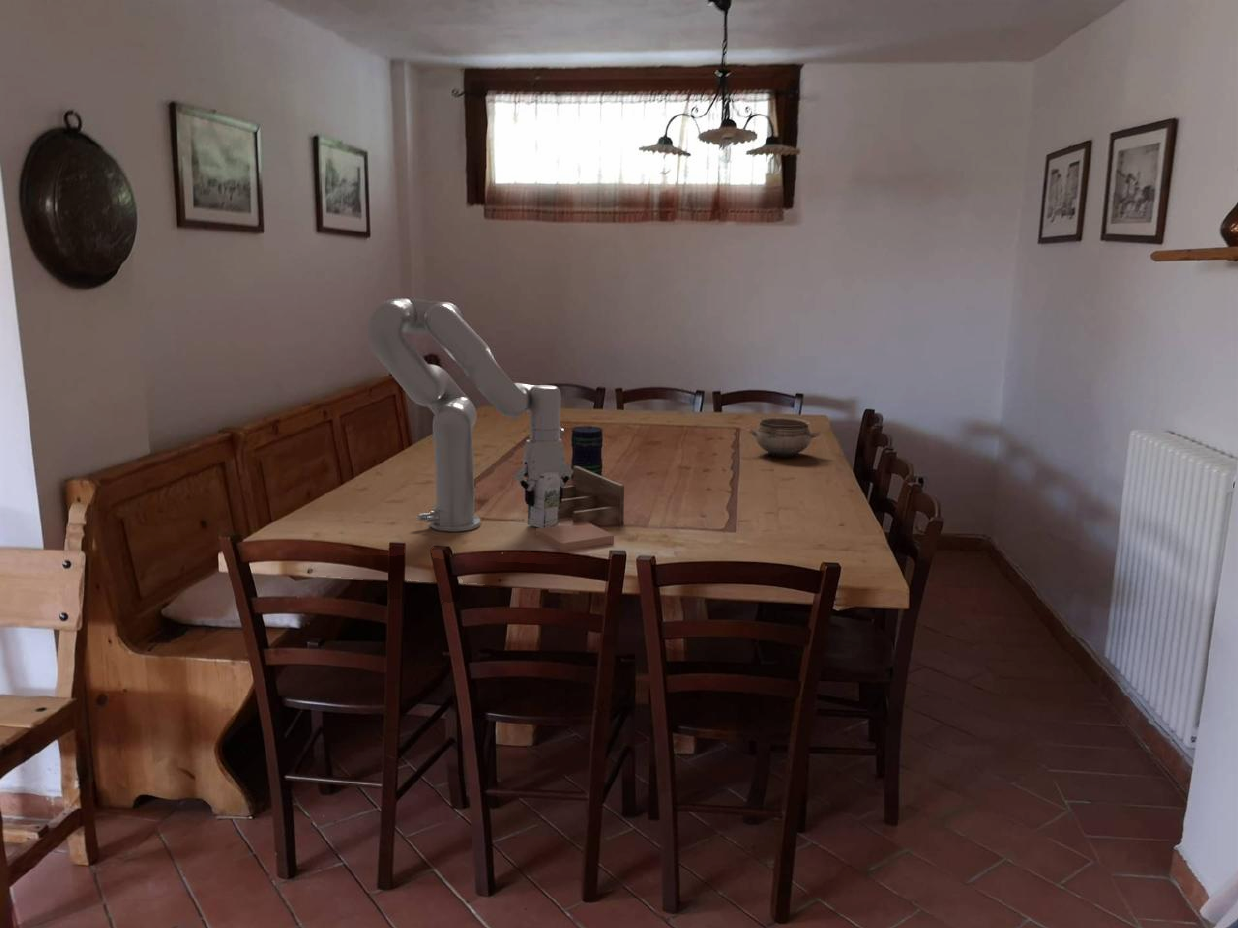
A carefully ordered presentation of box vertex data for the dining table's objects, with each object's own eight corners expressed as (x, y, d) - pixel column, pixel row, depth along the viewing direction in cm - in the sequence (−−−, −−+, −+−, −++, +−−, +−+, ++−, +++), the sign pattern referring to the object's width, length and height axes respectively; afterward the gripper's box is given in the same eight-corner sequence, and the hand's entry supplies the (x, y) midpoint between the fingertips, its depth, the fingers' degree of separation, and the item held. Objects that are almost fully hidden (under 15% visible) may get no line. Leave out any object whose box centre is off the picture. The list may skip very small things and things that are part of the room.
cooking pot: (815, 451, 339) (817, 418, 336) (821, 462, 320) (823, 427, 318) (745, 449, 341) (747, 415, 338) (747, 459, 323) (748, 424, 320)
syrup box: (543, 520, 244) (544, 466, 241) (559, 525, 240) (560, 470, 237) (527, 524, 240) (528, 469, 237) (544, 529, 236) (544, 473, 233)
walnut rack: (575, 529, 237) (575, 491, 235) (531, 506, 259) (531, 470, 256) (623, 522, 244) (624, 485, 242) (577, 500, 266) (577, 465, 263)
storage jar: (598, 480, 289) (599, 433, 286) (567, 478, 291) (567, 431, 288) (605, 473, 299) (606, 427, 296) (575, 471, 301) (575, 425, 298)
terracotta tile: (562, 551, 220) (562, 543, 219) (536, 536, 231) (536, 528, 231) (613, 543, 227) (614, 535, 226) (586, 528, 238) (586, 521, 238)
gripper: (568, 430, 243) (567, 496, 246) (506, 434, 234) (506, 503, 238) (582, 435, 236) (580, 503, 240) (519, 440, 228) (518, 510, 231)
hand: (543, 502), depth 239 cm, fingers closed on syrup box, 7 cm apart
